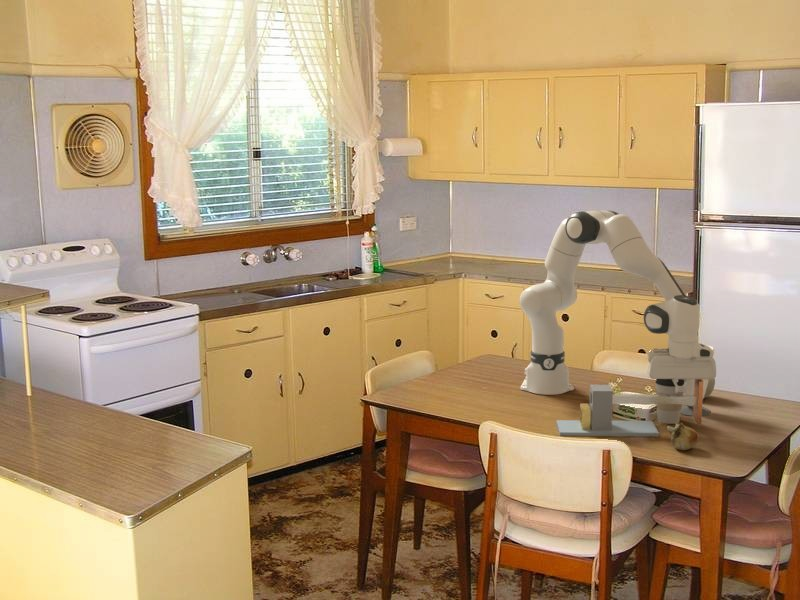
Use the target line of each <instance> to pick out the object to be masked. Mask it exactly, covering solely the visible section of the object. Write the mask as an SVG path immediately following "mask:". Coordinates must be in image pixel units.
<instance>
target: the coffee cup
mask: <svg viewBox="0 0 800 600" xmlns="http://www.w3.org/2000/svg"><path fill="white" fill-rule="evenodd" d="M676 383H677V385H678V386H683V385H684V379H678V382H676ZM655 386H656V387H655V388H656V389H655V394H673V395H684V393H676V392H675V387H676V386H675V385H674V383H673V381H672V379H655ZM682 406H683V404H656V410H657V411H656V412H657V416H656V417H657V421H658V422H659V423H661V424H667V425H668V424H671V425H672V424H678V422H680V420H681V414H680V413H681V408H682Z"/></svg>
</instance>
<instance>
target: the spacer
mask: <svg viewBox="0 0 800 600" xmlns="http://www.w3.org/2000/svg"><path fill="white" fill-rule="evenodd" d="M590 414H591V409H590V403H580V404H579V420H580V426H581V428H582V429H588V430H590Z"/></svg>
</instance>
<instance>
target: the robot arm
mask: <svg viewBox="0 0 800 600" xmlns="http://www.w3.org/2000/svg"><path fill="white" fill-rule="evenodd" d="M604 243H605V244H606V245H607V247H608V249H609V251H610V254H611V256H612V258H613V260H614V262H615V263H616V265H617V266H618V268H619V269H621V270H622V271H623V272H625V273H626V274H627V273H628V274H630V275H635V276H639V277H641V278H644V279H648V281H650V282H652V283H653V284H654V285H655V286H656V288H657V289H658V291H659V293H660V294H661V296H662V297H663V299H664V301H663V302H662V301H660V302H656V303H653V304H650V305H648V306H647V307H646V309H644V312H643V313H644V314H643V325H644V326H645V328H646V329H647V330H648V331H649V332H650V333H652V334H656V335H661V334H666V335H668V341H667V348H653V349H651V350H650V351H649V352H648V353H647V361H648V365H647V366H648V367H647V375H648V377H649V378H650V379H652V380H656V379H672V381H673V383H674V385H675V386H676V387H675V392H676V393H683V394H684V393H686V388H687V387H688V385H689V384H690V379H714V378H715V379H716V376H717V363H716V360H715V358H714V354H715V351H714V352H713V350H712V349H711V348H710V347H708V346H709V345H708V346H706V345H707V344H703V343H700V342H699V336H698V332H699V328H700V321H701V320H700V319H701V318H700V317H701V316H700V314H701V313H700V305H699V301H698V300H697V299H696V298H694V297H692V296H689V295H686V294H685V293H684V291H683V290H682V288H681V286H680V285H679V284H678V282H677V280H676V279H675V278H674V276H673V274H672V273H671V271H670V270H669V269H668V267H667V266H666V264H665V263H664V262H663V261H662V259H660V258H659V257H658V256H657V255H656V254H654V252H653V251H652V249H651V248H650V247H649V246H648V245H647V244H648V243H646V241H645V239H644V237H643V235H642V234H641V232H640V230H639V228H638V227H637V226H636V224H635V223H634V221H633V220H632V219H631V217H630V216H628V215H627V214H624V213H621V214H620V213H619V212H616V211H613V210H604V209H602V210H599V209H594V210H593V209H592V210H587V211H582V210H581V211H578V212H574V213H572V214H571V215H569V216H568V217H566V218H565V219H563V220H562V221H561V222H560V225H559V226H558V228H557V230H556V231H555V233H554V236H553V238H552V241H551V244H550V246H549V249H548V251H547V255H546V257H545V259H544V267H545V269H546V270H547V275H546V279H545V280H544V282H541V283H536V284H533V285H531V286H529V287H527V288H525V289H523V291H522V292H521V293H520V296H519V307H520V309H521V311H522V312H523V313H524V314H525V315H526V316H527V318H528V320H529V323H530V327H531V351H530V356H529V357H530V363H529V364H528V366H527V367H525V368H524V375H526V376H525V377H524V379H523V382H522V384H521V385H520V390H521V391H526V392H530V393H533V394H537V395H546V396H547V395H550V396H551V395H561V394H565V393H567V392H570V391H574V390H575V388H574V385H572V384H571V383H570V374H569V371H570V370H569V369H570V367H568V365H567V364H566V363H565V361H566V359H565V358H566V355H565V353H566V352H565V351H564V340H565V339H564V337H565V332H564V329H563V327H562V325H561V326H560V324H559V323H558V320H557V313H558V312H559V311H560V312H561V311H564V310H566V309H568V308H569V307H571V306H573V305H574V304H575V302H576V301H577V298H578V291H577V287H576V285H575V278H576V277H575V275H576V272H577V270H578V269H577V268H578V267H579V263H580V260H581V258H582V256H583V252H584V248H585V246H586V244H587V245H598V244H604ZM678 379H684V380H685V383H684V385H683V386H678V385H677V383H676V382H678Z"/></svg>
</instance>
